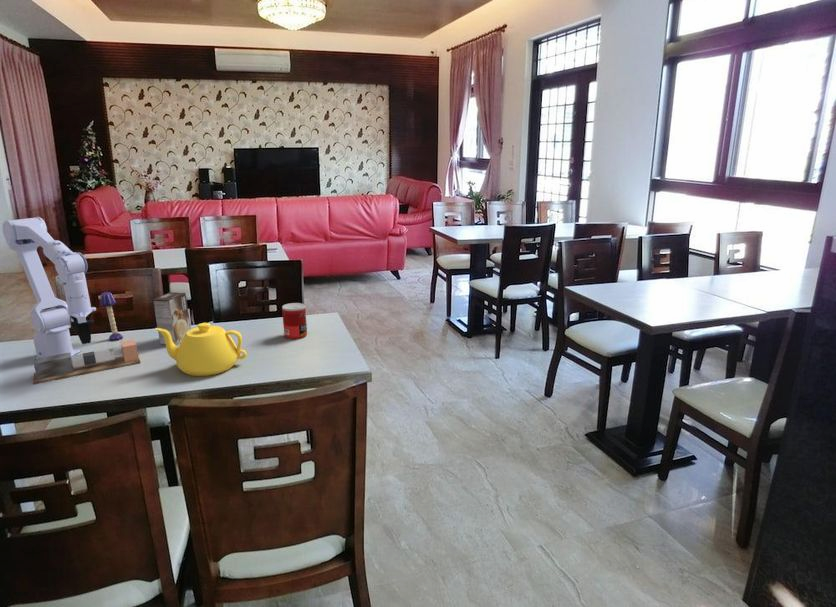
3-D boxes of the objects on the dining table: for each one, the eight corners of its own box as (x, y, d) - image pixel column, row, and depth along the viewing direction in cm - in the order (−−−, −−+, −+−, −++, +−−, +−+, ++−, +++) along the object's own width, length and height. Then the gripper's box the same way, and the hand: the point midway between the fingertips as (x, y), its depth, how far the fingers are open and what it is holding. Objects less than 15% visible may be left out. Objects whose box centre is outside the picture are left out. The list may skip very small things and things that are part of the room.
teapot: (153, 382, 155) (145, 337, 151) (169, 358, 172) (163, 317, 168) (243, 375, 159) (239, 331, 155) (251, 353, 176) (247, 312, 172)
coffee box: (176, 335, 192) (169, 291, 187) (192, 336, 190) (186, 292, 186) (159, 344, 183) (152, 299, 178) (176, 345, 182) (169, 300, 177)
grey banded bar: (40, 373, 156) (38, 364, 155) (40, 370, 159) (38, 361, 158) (115, 359, 166) (113, 350, 165) (114, 356, 168) (112, 348, 168)
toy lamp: (112, 342, 185) (103, 295, 180) (104, 340, 187) (95, 293, 183) (125, 338, 189) (117, 292, 184) (117, 335, 191) (109, 290, 187)
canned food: (304, 339, 187) (302, 309, 184) (281, 339, 187) (279, 309, 184) (309, 332, 194) (307, 302, 191) (287, 332, 194) (284, 302, 191)
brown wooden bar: (33, 384, 154) (29, 366, 152) (34, 374, 160) (30, 357, 159) (140, 363, 168) (137, 346, 166) (137, 354, 174) (134, 339, 173)
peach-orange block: (125, 362, 167) (122, 347, 165) (123, 357, 171) (120, 341, 170) (138, 360, 169) (136, 344, 167) (136, 354, 173) (134, 339, 172)
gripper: (94, 299, 154) (102, 344, 158) (91, 288, 166) (99, 330, 170) (65, 303, 150) (74, 349, 154) (64, 291, 162) (73, 334, 166)
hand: (85, 339), depth 162 cm, fingers open, 7 cm apart
